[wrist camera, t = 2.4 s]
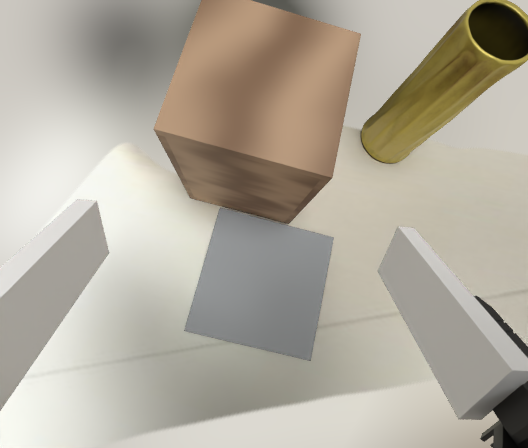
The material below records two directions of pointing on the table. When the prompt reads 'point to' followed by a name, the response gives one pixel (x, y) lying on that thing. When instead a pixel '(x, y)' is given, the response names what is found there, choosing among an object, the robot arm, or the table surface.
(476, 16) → the vase
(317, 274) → the mat
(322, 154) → the brown wooden block
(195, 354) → the table surface
